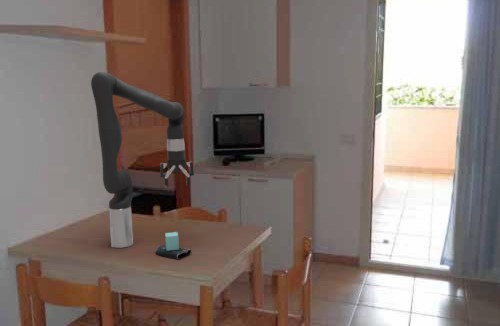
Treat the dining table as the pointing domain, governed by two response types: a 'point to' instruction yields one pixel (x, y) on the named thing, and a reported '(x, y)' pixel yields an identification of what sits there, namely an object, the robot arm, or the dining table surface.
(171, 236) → the teal block
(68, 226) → the dining table surface
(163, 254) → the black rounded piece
